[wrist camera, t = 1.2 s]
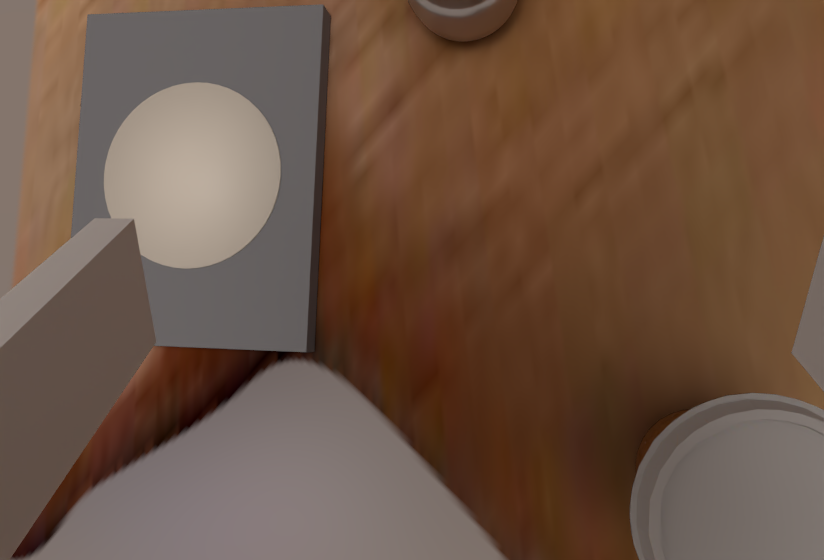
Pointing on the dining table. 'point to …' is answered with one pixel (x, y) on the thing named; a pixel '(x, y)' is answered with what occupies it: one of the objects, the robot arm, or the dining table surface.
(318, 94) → the board
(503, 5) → the plastic bottle
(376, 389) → the dining table surface
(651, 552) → the disposable coffee cup
